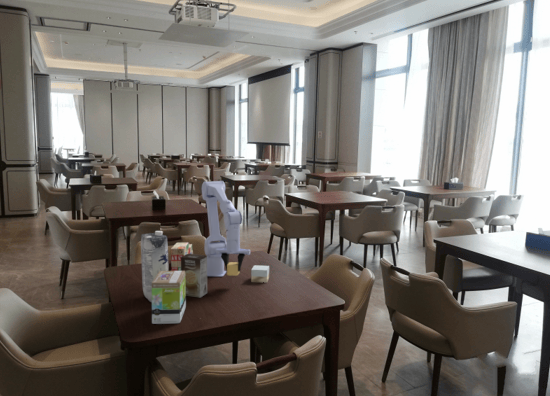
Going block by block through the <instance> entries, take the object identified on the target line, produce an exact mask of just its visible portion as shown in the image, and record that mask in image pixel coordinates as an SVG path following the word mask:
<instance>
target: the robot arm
mask: <svg viewBox="0 0 550 396" xmlns="http://www.w3.org/2000/svg"><path fill="white" fill-rule="evenodd" d="M201 197H202V200H204V201H205V203H206V212H207V220H208V229H209V230H208V231H209V236H207V237H206V239H205V240H204V248H203V249H204V254H205V255H206V256H207V277H224V276H225V274H227V265H228V263H229V261H230V255H237V262H238V271H241V269H242V264H243V262H244V259H245V256H246V255H247V256H250V255H251V249H245V248H241V231H240V230H241V226H240V225H241V224H242V223H243V222H242V221H243V215H242V212H241V211H240V210H238V209H236V208H235V206H234V203H233V202H232V201H231V200H230V199H228V197H227V194H226V183H225V182H224V180H218V181H217V180H214V181H203V183H202V184H201ZM218 202H219V209H220V211H221V213H222V215H223V222H224V228H225V230H226V232H225V233H226V237H224V236H223V235H222V234H221V229H220V221H219V220H220V219H219V211H218V210H219V209H218Z"/></svg>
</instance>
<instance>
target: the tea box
mask: <svg viewBox="0 0 550 396" xmlns="http://www.w3.org/2000/svg"><path fill="white" fill-rule="evenodd" d="M186 307H187V296H186V281H185V271H172V270H169V271H159V272H158V274H157V276H156V277H155V279H154V280H153V282H152V302H151V324H153V325H154V324H156V325H162V324H163V325H165V324H180V323H181V321H182V319H183V316H184V314H185V310H186Z"/></svg>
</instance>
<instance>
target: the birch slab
mask: <svg viewBox="0 0 550 396" xmlns="http://www.w3.org/2000/svg"><path fill="white" fill-rule="evenodd" d="M250 276H251V275H250ZM269 279H270V273H269V274H268V276H267V277H259V276H251V277H250V281H251V283H263V282H264V283H268V282H269Z"/></svg>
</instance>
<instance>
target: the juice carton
mask: <svg viewBox="0 0 550 396" xmlns="http://www.w3.org/2000/svg"><path fill="white" fill-rule="evenodd" d="M163 233H164V231H162V230H155V231H154V232H153V233H152V232H149V233H141V235H140V238H141V239H140V252H141V253H140V256H141V259H140V260H141V278H142V279H141V281H142V282H141V284H142V291H143V295H144V297H145V298H146V299H147V300H148V301H149V302H150V303H152V282H153V280H154V279H155V277H156V276H157V274H158V272H159V271H170V270H169V268H170V267H169V248H168V247H169V246H168V236H167V235H164V234H163Z"/></svg>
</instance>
